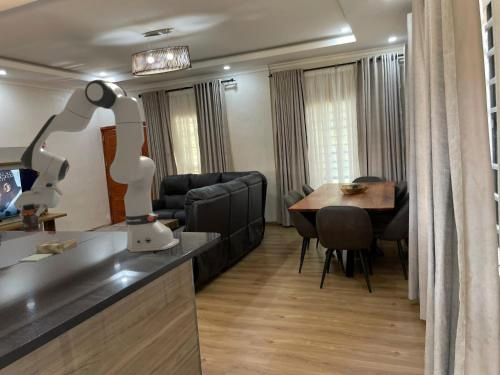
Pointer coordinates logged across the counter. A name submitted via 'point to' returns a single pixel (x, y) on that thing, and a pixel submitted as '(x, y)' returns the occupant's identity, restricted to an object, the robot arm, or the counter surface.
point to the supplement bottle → (30, 218)
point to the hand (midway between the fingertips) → (28, 216)
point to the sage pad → (36, 257)
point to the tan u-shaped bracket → (56, 246)
